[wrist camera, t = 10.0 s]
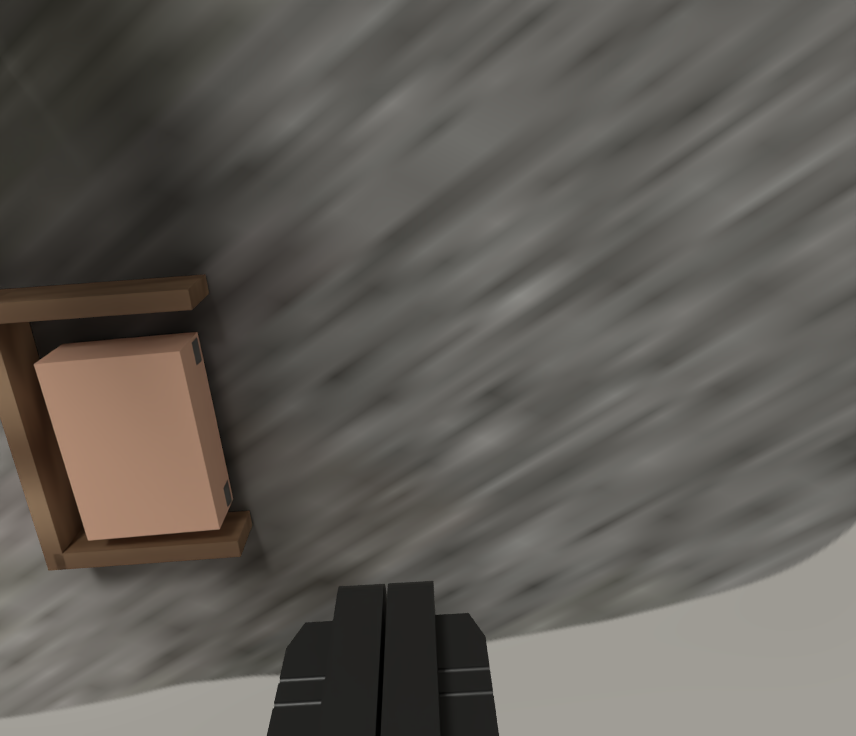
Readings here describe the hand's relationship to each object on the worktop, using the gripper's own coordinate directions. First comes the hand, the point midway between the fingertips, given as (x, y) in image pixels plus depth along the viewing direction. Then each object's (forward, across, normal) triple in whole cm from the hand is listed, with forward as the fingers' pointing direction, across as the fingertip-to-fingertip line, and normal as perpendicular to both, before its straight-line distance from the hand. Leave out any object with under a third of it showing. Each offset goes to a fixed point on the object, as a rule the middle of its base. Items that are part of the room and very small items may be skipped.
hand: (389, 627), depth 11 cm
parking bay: (+26, +15, +8) cm, 31 cm away
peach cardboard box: (+26, +14, +8) cm, 31 cm away
